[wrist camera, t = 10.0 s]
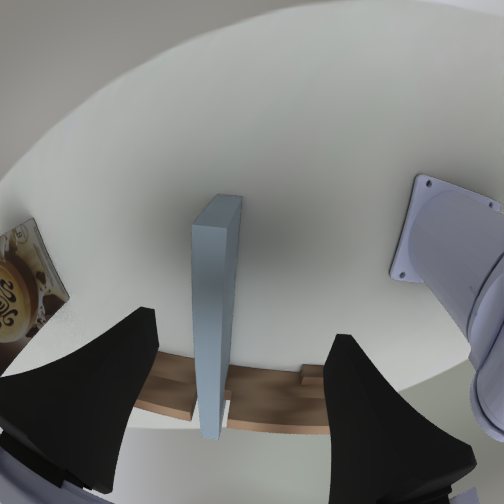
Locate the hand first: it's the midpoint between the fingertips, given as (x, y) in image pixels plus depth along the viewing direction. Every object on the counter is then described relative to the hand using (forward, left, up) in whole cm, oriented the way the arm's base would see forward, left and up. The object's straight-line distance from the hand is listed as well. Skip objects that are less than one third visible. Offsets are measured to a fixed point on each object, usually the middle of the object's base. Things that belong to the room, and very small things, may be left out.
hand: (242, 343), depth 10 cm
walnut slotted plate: (+2, +13, -9) cm, 16 cm away
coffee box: (+22, +5, -10) cm, 25 cm away
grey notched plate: (+2, +7, -9) cm, 12 cm away
